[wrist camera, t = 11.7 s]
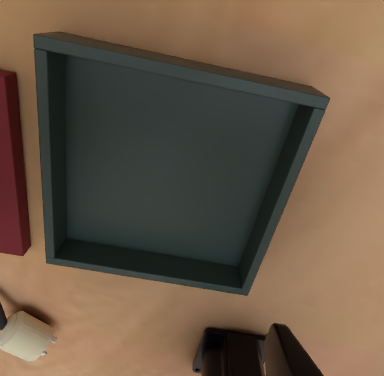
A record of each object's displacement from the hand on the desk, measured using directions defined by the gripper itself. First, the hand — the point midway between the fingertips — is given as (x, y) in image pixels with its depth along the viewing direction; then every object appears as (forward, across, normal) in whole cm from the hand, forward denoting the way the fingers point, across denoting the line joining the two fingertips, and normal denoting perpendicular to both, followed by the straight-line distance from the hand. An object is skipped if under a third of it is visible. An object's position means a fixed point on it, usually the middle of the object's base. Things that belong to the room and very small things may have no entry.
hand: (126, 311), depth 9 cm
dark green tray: (+12, 0, +1) cm, 12 cm away
